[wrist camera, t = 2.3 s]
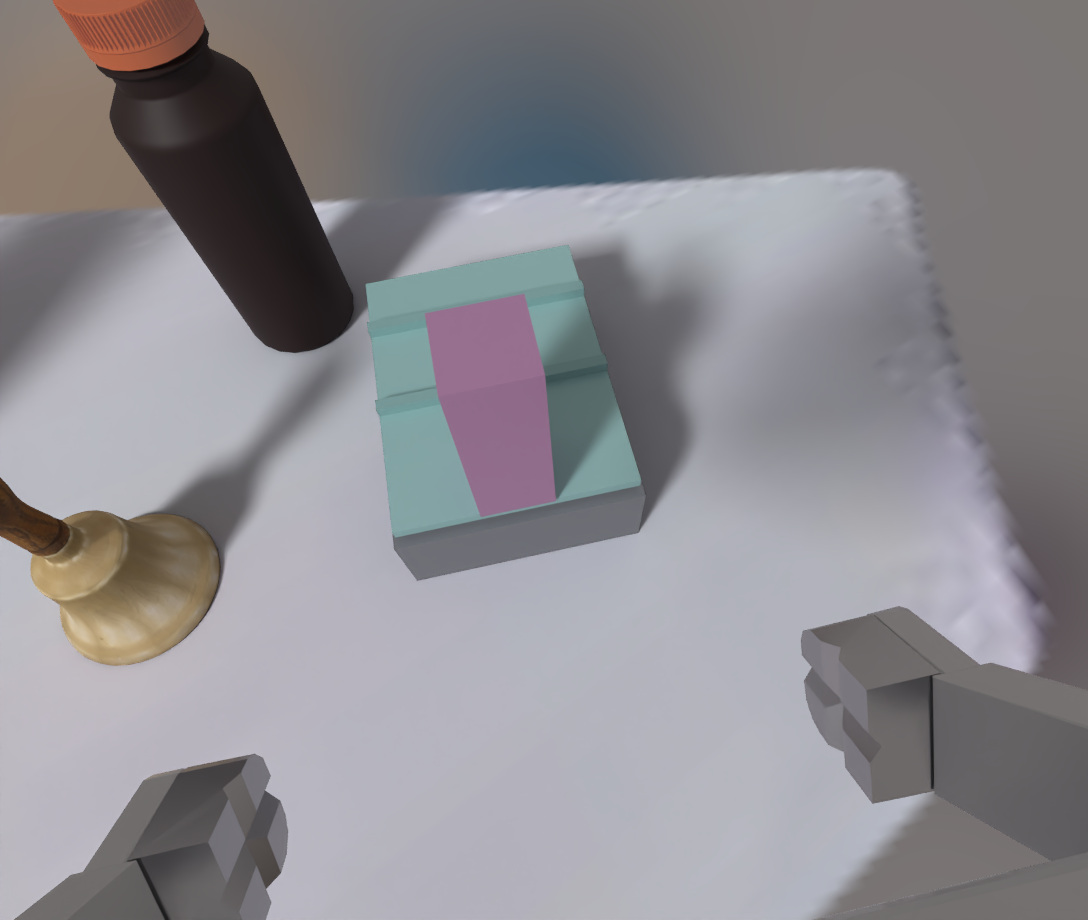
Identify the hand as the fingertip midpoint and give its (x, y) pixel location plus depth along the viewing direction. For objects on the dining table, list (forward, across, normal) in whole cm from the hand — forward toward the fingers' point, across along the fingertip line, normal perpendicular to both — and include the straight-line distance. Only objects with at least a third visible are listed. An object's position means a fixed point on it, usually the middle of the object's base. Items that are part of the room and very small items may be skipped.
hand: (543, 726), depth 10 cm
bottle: (+38, +11, -6) cm, 40 cm away
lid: (+26, 0, -1) cm, 26 cm away
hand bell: (+26, +21, +6) cm, 34 cm away
